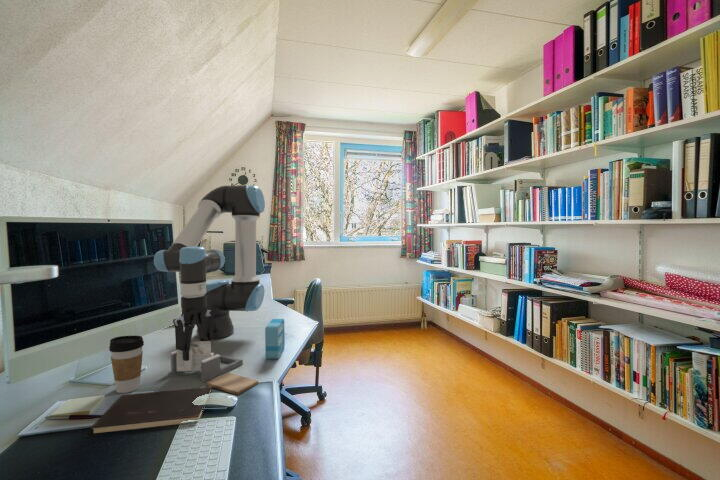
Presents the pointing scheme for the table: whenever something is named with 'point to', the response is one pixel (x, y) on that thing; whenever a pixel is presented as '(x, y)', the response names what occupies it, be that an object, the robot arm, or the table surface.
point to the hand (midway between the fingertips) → (195, 366)
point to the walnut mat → (232, 383)
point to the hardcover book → (151, 410)
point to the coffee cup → (126, 362)
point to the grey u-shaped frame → (210, 365)
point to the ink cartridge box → (195, 355)
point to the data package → (274, 339)
